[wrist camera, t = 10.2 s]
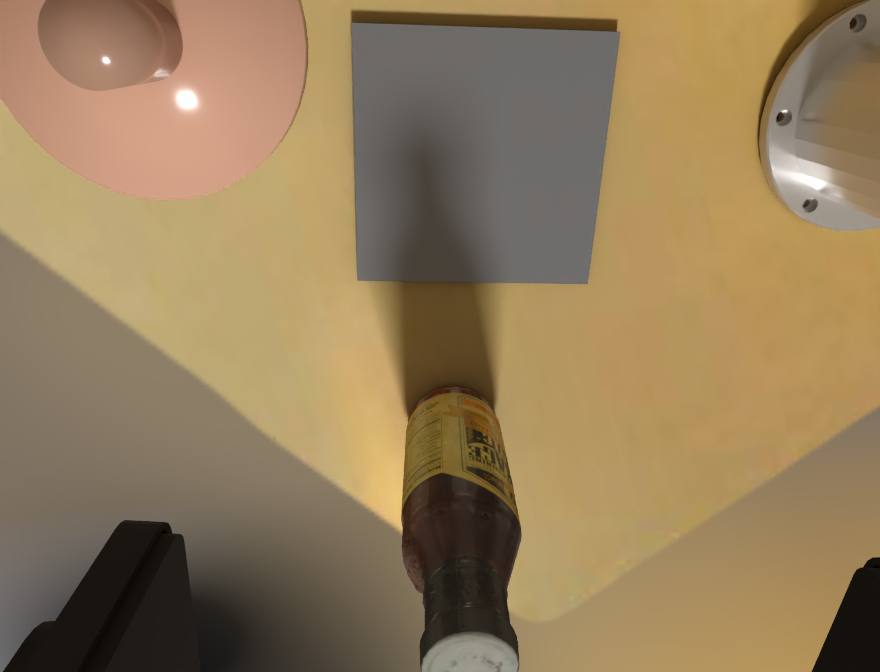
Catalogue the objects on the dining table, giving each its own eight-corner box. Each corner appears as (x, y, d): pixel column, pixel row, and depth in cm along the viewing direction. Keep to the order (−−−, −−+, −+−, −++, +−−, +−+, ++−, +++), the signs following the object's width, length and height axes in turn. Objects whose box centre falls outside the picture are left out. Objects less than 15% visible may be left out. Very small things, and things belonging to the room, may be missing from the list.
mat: (617, 31, 35) (620, 31, 34) (585, 280, 41) (587, 283, 40) (352, 22, 34) (351, 22, 34) (358, 277, 40) (357, 280, 40)
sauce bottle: (510, 438, 45) (576, 704, 27) (428, 471, 46) (439, 749, 28) (474, 361, 43) (520, 598, 25) (387, 397, 44) (371, 651, 26)
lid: (299, -143, 23) (269, -191, 18) (315, 198, 28) (295, 231, 23) (-54, -159, 23) (-184, -214, 18) (26, 191, 28) (-58, 225, 23)
